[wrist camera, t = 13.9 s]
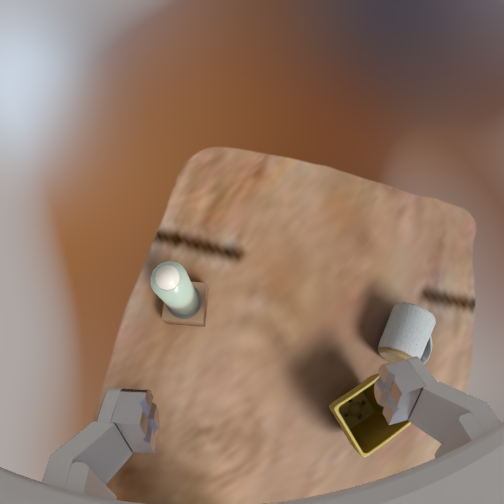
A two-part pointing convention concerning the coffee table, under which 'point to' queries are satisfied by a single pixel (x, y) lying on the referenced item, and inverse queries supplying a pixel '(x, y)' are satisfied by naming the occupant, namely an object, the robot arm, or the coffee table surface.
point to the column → (174, 288)
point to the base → (197, 316)
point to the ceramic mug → (407, 333)
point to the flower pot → (364, 418)
